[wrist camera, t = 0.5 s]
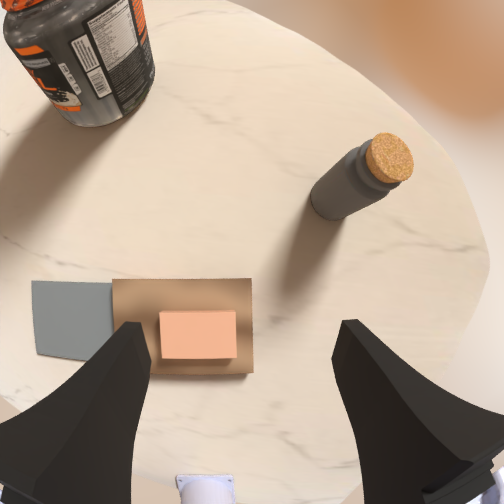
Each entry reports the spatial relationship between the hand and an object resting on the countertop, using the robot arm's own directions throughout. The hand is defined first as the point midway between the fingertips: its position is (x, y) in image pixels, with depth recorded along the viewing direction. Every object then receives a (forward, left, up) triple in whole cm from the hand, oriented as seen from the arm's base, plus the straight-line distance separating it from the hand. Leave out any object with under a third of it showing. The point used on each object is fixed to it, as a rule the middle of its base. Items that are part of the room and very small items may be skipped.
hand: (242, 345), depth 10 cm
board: (-3, +5, -24) cm, 25 cm away
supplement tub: (+30, +18, -24) cm, 43 cm away
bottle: (+12, -14, -24) cm, 31 cm away
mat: (-3, +20, -24) cm, 31 cm away
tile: (-4, +3, -22) cm, 22 cm away
